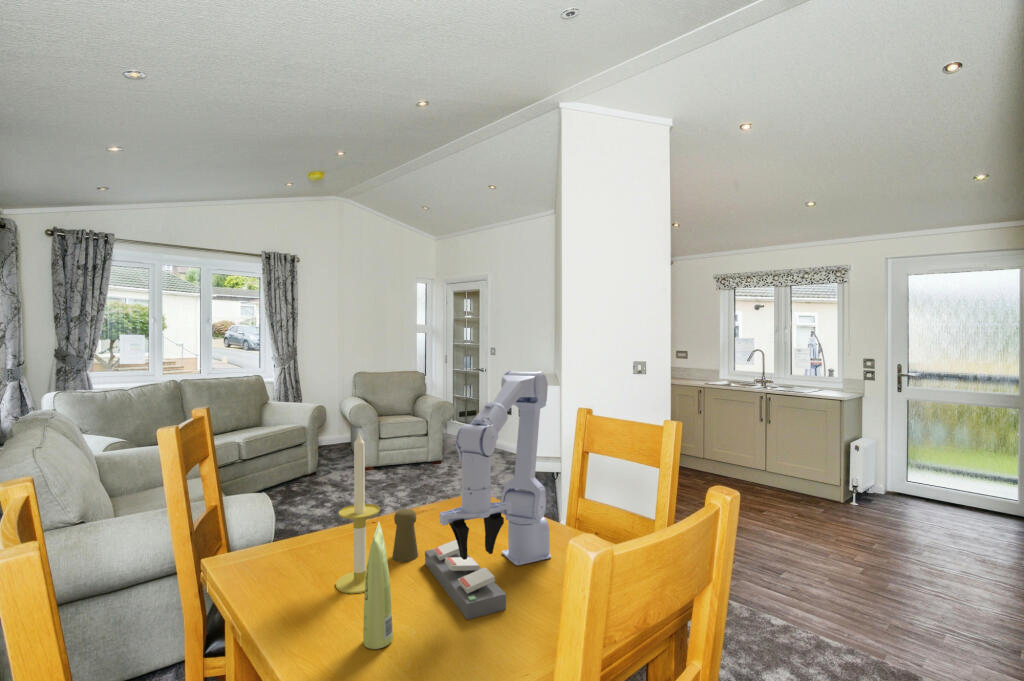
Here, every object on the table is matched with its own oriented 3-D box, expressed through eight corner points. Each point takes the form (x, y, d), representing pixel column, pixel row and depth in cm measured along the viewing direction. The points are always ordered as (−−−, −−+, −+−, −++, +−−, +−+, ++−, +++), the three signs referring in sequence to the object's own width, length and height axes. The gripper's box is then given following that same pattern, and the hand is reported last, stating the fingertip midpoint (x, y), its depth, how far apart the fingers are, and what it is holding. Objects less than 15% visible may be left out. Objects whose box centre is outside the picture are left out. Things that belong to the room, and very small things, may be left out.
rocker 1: (458, 543, 117) (457, 538, 117) (465, 550, 113) (464, 545, 113) (433, 553, 115) (432, 548, 115) (439, 560, 111) (439, 555, 111)
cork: (412, 563, 117) (412, 515, 117) (388, 560, 118) (387, 513, 118) (422, 552, 123) (421, 507, 123) (398, 550, 124) (398, 505, 124)
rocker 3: (486, 571, 103) (485, 566, 103) (495, 580, 99) (494, 575, 99) (458, 583, 100) (457, 578, 100) (467, 593, 96) (466, 588, 96)
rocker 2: (470, 561, 110) (471, 556, 110) (478, 570, 106) (479, 564, 106) (444, 562, 107) (445, 556, 108) (451, 570, 104) (452, 565, 104)
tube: (355, 641, 87) (354, 528, 87) (380, 628, 91) (379, 520, 91) (374, 654, 83) (373, 536, 83) (399, 640, 87) (399, 527, 87)
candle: (393, 577, 110) (393, 428, 110) (360, 598, 101) (359, 436, 101) (359, 567, 115) (359, 424, 115) (324, 586, 106) (323, 432, 106)
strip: (457, 556, 120) (457, 541, 120) (505, 609, 97) (505, 590, 97) (425, 563, 117) (425, 547, 117) (467, 620, 93) (467, 600, 93)
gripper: (448, 497, 93) (448, 570, 93) (518, 486, 99) (518, 555, 99) (435, 486, 99) (436, 555, 99) (502, 477, 106) (502, 542, 106)
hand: (476, 554), depth 100 cm, fingers open, 5 cm apart
